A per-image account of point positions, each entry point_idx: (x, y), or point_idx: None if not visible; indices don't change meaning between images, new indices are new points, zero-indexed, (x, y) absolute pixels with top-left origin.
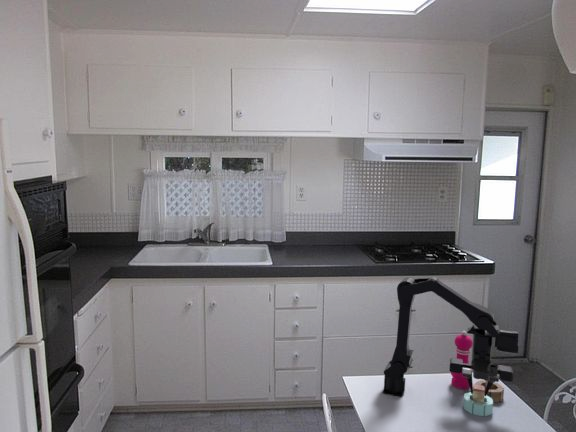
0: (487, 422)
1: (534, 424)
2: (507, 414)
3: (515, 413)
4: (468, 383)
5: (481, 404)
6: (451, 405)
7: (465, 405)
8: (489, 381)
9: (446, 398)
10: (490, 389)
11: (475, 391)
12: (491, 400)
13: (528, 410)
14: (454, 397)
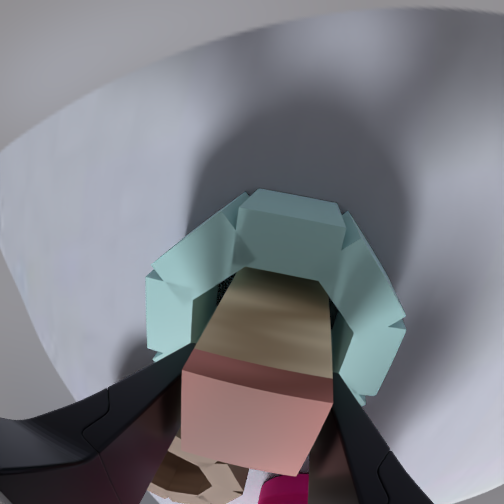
0: (244, 99)
1: (7, 176)
2: (98, 254)
3: (64, 273)
4: (271, 497)
5: (262, 230)
6: (452, 310)
7: (388, 279)
8: (40, 454)
9: (442, 385)
10: (168, 460)
11: (309, 373)
12: (155, 324)
13: (27, 309)
14: (388, 405)
